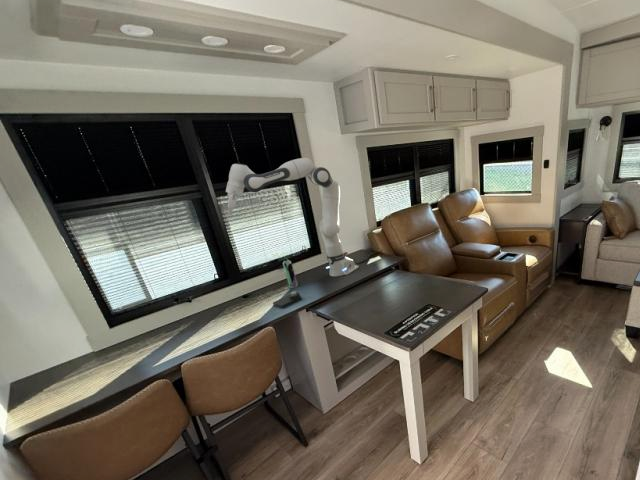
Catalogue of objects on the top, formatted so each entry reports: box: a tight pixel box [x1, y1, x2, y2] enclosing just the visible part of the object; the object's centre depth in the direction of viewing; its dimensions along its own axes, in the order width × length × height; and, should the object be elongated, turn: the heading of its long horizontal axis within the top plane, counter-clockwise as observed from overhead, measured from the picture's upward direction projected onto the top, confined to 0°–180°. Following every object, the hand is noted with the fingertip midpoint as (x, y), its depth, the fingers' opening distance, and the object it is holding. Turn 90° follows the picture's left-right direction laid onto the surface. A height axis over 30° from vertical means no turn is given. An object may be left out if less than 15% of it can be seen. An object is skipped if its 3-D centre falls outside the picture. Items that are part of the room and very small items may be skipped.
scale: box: [272, 291, 302, 310], centre depth 187 cm, size 14×11×4 cm
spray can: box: [282, 257, 299, 289], centre depth 209 cm, size 6×6×20 cm
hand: (229, 214), depth 187 cm, fingers open, 8 cm apart
